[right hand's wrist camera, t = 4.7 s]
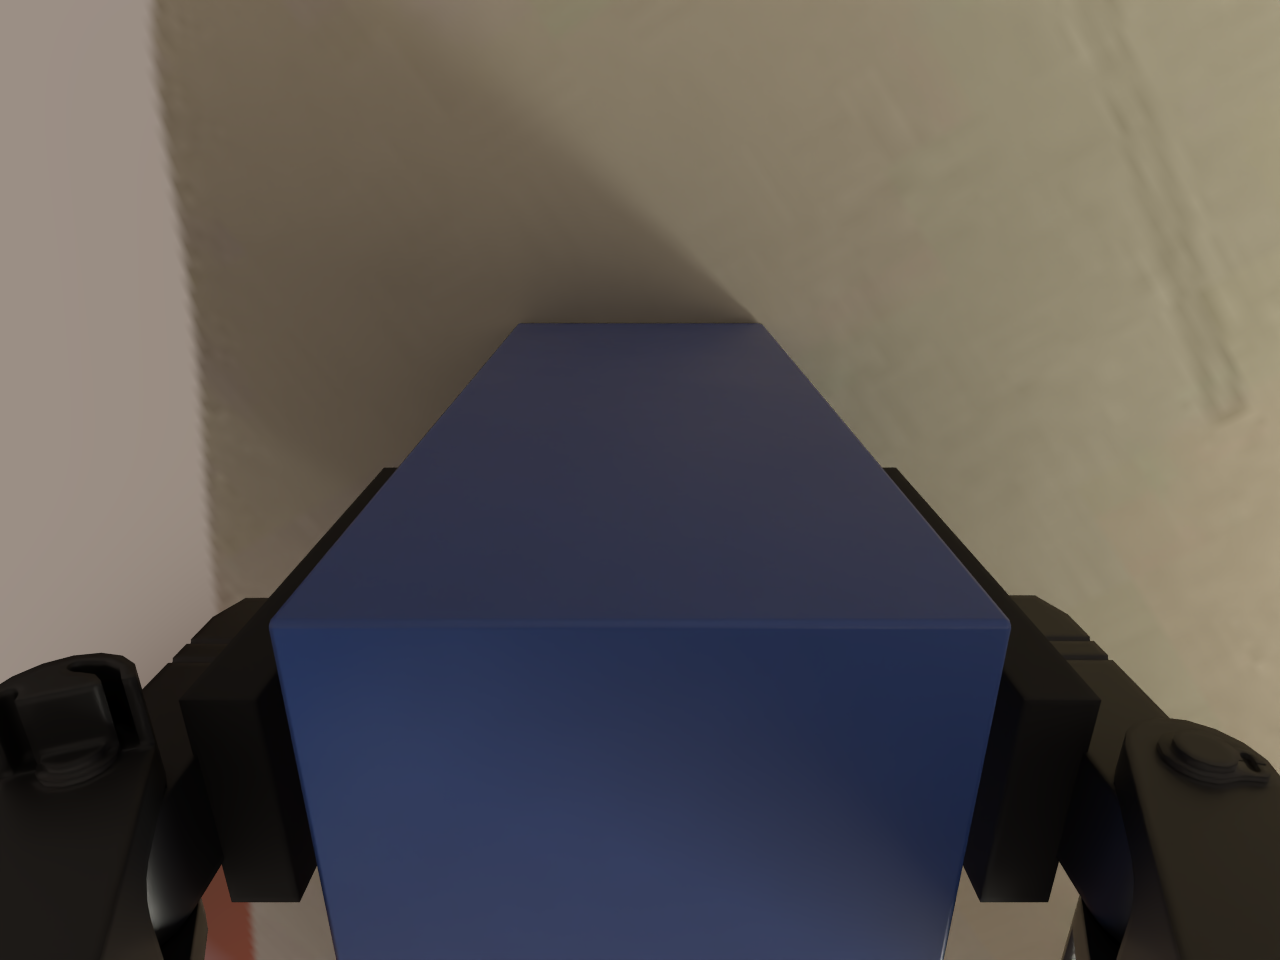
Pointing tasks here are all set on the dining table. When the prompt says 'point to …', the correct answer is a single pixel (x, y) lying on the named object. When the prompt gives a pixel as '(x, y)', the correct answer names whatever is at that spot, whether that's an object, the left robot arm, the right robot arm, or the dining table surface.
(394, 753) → the block
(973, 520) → the dining table surface
